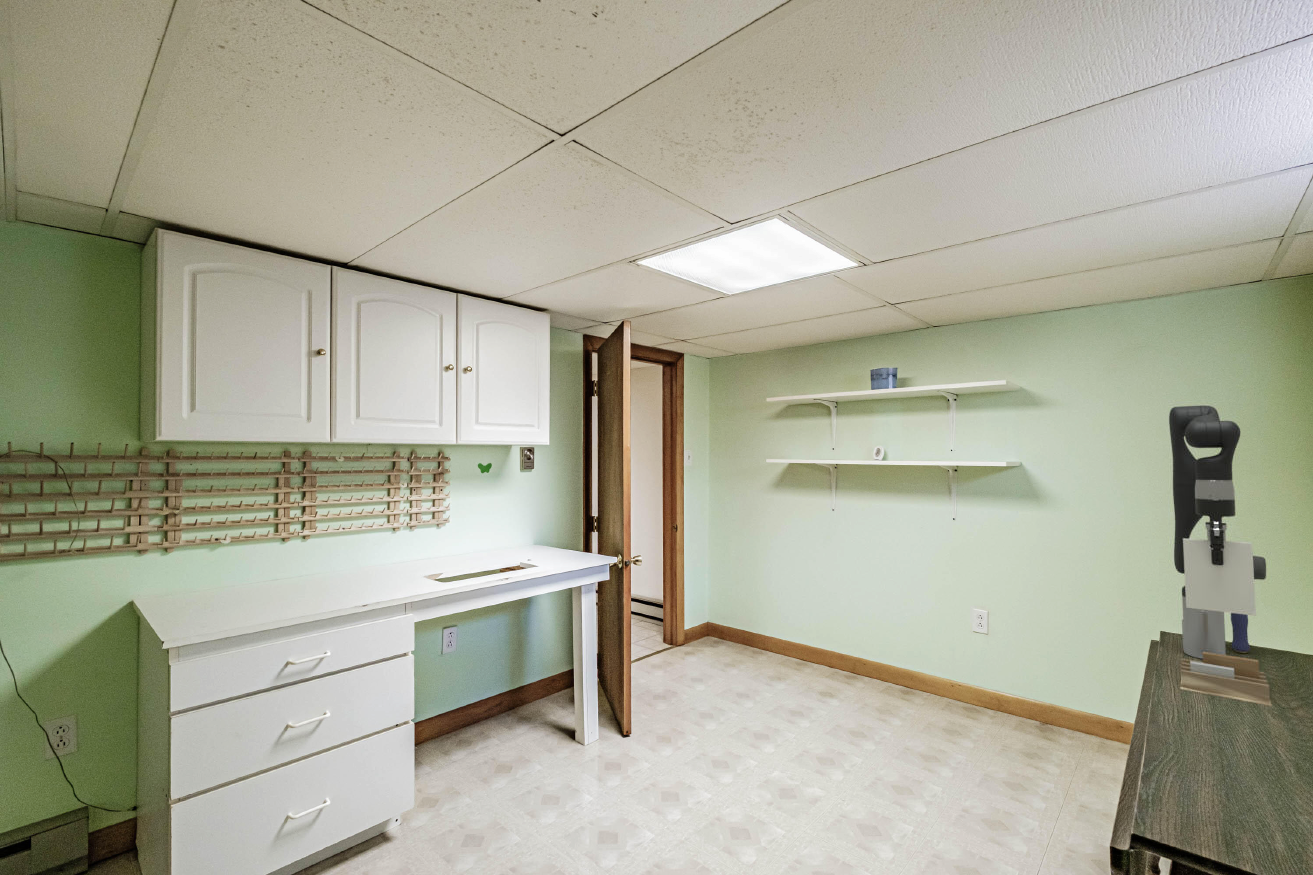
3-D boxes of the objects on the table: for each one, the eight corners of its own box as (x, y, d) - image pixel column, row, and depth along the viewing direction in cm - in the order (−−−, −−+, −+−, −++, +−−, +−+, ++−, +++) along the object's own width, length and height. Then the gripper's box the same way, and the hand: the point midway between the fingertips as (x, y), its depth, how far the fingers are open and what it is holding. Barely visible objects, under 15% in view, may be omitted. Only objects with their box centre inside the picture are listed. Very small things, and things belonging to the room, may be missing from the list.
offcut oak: (1204, 682, 153) (1202, 651, 153) (1259, 692, 146) (1257, 660, 146) (1204, 685, 151) (1203, 653, 152) (1260, 695, 145) (1258, 662, 145)
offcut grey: (1191, 684, 152) (1190, 660, 152) (1234, 692, 146) (1233, 668, 147) (1191, 686, 150) (1190, 662, 150) (1235, 695, 145) (1234, 670, 145)
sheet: (1186, 606, 158) (1183, 538, 159) (1255, 614, 150) (1251, 542, 150) (1186, 607, 157) (1183, 539, 158) (1255, 615, 148) (1252, 543, 149)
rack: (1181, 676, 161) (1180, 656, 161) (1265, 691, 150) (1264, 670, 150) (1180, 693, 149) (1179, 672, 149) (1272, 711, 138) (1271, 688, 139)
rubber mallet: (1271, 654, 179) (1266, 554, 180) (1268, 660, 174) (1264, 557, 175) (1215, 645, 188) (1211, 550, 189) (1211, 649, 183) (1207, 552, 185)
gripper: (1195, 495, 162) (1197, 559, 161) (1195, 498, 152) (1198, 566, 151) (1233, 496, 157) (1236, 562, 156) (1236, 499, 147) (1239, 569, 146)
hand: (1217, 563), depth 154 cm, fingers closed on sheet, 2 cm apart
